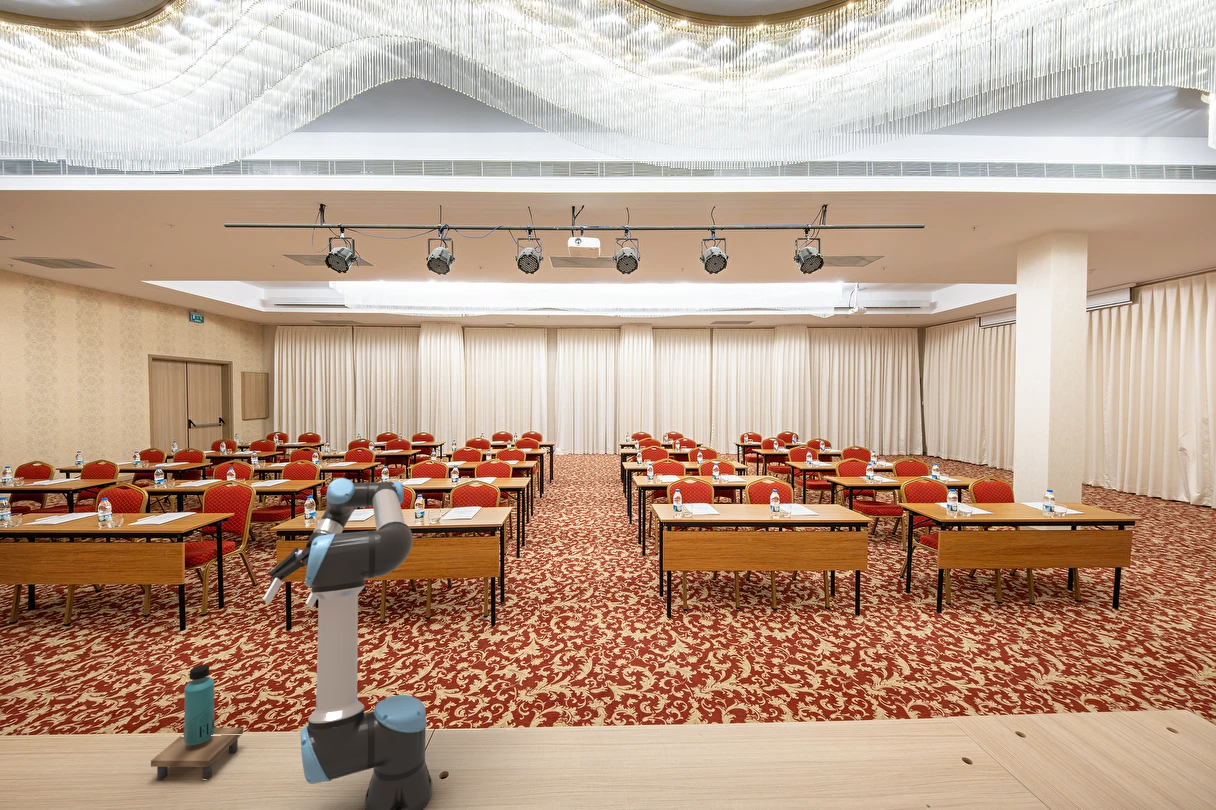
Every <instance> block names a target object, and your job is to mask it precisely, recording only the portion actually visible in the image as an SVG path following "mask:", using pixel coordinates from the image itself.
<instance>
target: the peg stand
mask: <svg viewBox="0 0 1216 810" xmlns="http://www.w3.org/2000/svg"><path fill="white" fill-rule="evenodd" d="M214 731H215V732H214V734H242V735H243V734H244V727H214ZM182 735H184V733H183V734H182ZM242 735H221V736H212V737H211V738H210V739H209V740H207V741H205V742H203V743H200V744H197V745H187V744H186V743H185V741H184V737H181V735H180V736H179V737H177V738H176V740H173V742H172V743H171V744H169V745H168V746H167V747H166V748H164V749H162V751H160V752H159V753H158V754H157V755H156V756H155V757H153V758H152V759H151V760H150V767H152V768H155V767H156V769H157V770H156V773H157V774H156V776H157V777H156V781H163V780H165V779H166V777H167V778H168V775H169V773H168V771H169V770H168V769H169V767H171V768H175V767H176V768H179V767H180V768H182V767H183V768H184V767H187V768H192V767H193V768H194V767H196V768H197V767H198V768H200V767H201V779H202V778H203V779H208V780H210V779H211V778H212V777H213V763H214V762H215V761H216V760H217V759H218V758H219V757H221V755H222V754H223V753H225V752H226V751H227V749H228V755H234V754H236V753H237V752H238V748H239V747H238V746H239V745H238V744H239V742H238V741H239V738H240V737H241V736H242ZM164 778H165V779H164ZM209 778H210V779H209Z"/></svg>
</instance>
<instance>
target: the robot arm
mask: <svg viewBox="0 0 1216 810" xmlns="http://www.w3.org/2000/svg"><path fill="white" fill-rule="evenodd" d="M404 492H405V490H404V484H403V483H402V482H401V481H392V480H389V481H378V482H377V481H376V482H356V483H355V482H354V483H353V482H352V481H351V480H350V479H348V478H346V477H341V478H340V477H339V478H336V479H334V480H332V481H331V482H330V483H329V485H328V486H327V490H326V496H325V497H326V509H325V510H324V513H323V514H322V516H321V518H320V519H319V521H318V523H317V525H316V526H315V528H314V530H313V533H311V535H310V537H309V539H308V540H307V542H306V546H305V548H304V549H303V550H301V549H299V548H298V547H295V548H294V549H293V550H292V551H291V553H290V554H289V555H287V557H285V559H283V560H282V561H281V562H280V563H278V564H277V565H276V566H275V567H274V568H273V569H272V570H271V571H270V572H269V573H268V575H269V576H270V577H271V578H272V579H271V582H270V583H269V584H268V586H267V591H266V592H265V595H264V596H263V598H262V600H263V601H264V602H266V603H267V604H271V603H272V602H273V601H272V600H273V599H274V598H275V596H276V594H277V592H278V591H279V589H280V587H281V585H282V584H283V581H282V580H284V579H286V578H287V577H288V576H290V575H291V574H293V573H294V572H296V571H297V570H299V569H301V568H303V567H305V566H306V572H305V580H304V586H306V587H311V592H310V593H309V595H308V597H307V599H306V601H305V605H307V606H308V608H313V607H314V605H315V603H316V601H317V600H318V606H317V607H318V609H317V610H318V613H317V615H318V618H317V651H316V652H317V656H316V658H317V659H316V661H317V663H316V696H315V697H316V698H315V703H316V704H315V710H314V711H313V712H312V713H311V714H310V716H309V717H308V721H307V722H308V723H307V724H308V725H305V726H304V727H303V728H301V730H300V745H301V747H300V748H301V749H300V750H301V752H300V753H301V762H302V768H303V770H302V771H303V776H304V779H305V781H306V782H307V783H308V784H310V785H315V784H319V783H324V782H331V781H333V780H336V779H340V778H342V777H346V776H349V775H353V774H356V773H360V772H363V771H367V770H370V769H373V772H372V776H371V778H370V781H369V784H368V787H367V790H366V794H365V796H364V810H421V809H422V810H423V809H424V808H425V807H426V806H427V805H428V803H429V802H430V800H429V799H431V798H430V797H432V793H433V781H432V777H431V775H430V771H429V768H428V765H427V763H426V732H427V731H426V727H427V724H428V721H427V718H426V717H427V716H426V715H427V714H426V706H425V704H424V703H423V702H422V701H421V700H420V699H419V698H417V697H414V696H413V695H412V696H411V695H406V694H405V695H404V694H399V695H398V694H397V695H396V694H395V695H390V696H388V697H385V698H383V700H380V701H378V702H377V704H376V705H375V706H374V709H373V711H369V712H365V704H363V703H362V702H361V701H360V700H358V699H359V698H358V651H359V649H358V648H359V647H358V643H359V642H358V636H359V635H358V634H359V633H358V631H359V628H358V627H359V625H358V623H359V621H358V620H359V611H358V610H359V594H360V592H361V591H363V590H364V588H365V587H366V579H374V578H379V577H383V576H386V575H388V574H390V573H392V572H394V571H395V570H396V569H397V568H399V567H400V566H401V565H402V564H403V563H404V562H405V561H406V560H407V558H408V556H409V554H410V553H411V551H412V547H413V543H414V536H413V532H412V530H411V528H410V526H409V525H408V524H407V523H406V522H405V518H404V515H403V510H402V507H401V504H402V503H403V502H404V495H405V494H404ZM362 507H363V508H365V507H367V508H368V507H373V515H374V522H375V527H376V530H366V531H365V530H363V531H354V532H343V531H344V529H345V526H347V523H348V521H349V520H350V519H351V516H352V514H353V513H354V512H355V510H356V508H362ZM428 801H429V802H428ZM426 804H427V805H426Z"/></svg>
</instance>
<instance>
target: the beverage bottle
mask: <svg viewBox="0 0 1216 810" xmlns="http://www.w3.org/2000/svg"><path fill="white" fill-rule="evenodd" d="M209 675H210V666H209V665H208V664H201V665H196V666H194V667H192V668H191V669H190V671H189V677H188V678H189V680H190V682H188V683H187V684H186V685H185V687H184V716H183V717H184V719H183V726H184V727H183V734H184V741H185V743H186V744H187V745H197V744H200V743H203V742H205V741H207V740H209V739H210V738H211V737H212V736H211V735H213V734H214V732H215V731H214V728H215V726H216V723H215V709H216V708H215V702H216V700H215V696H216V694H215V680H214V678H212V677H209Z"/></svg>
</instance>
